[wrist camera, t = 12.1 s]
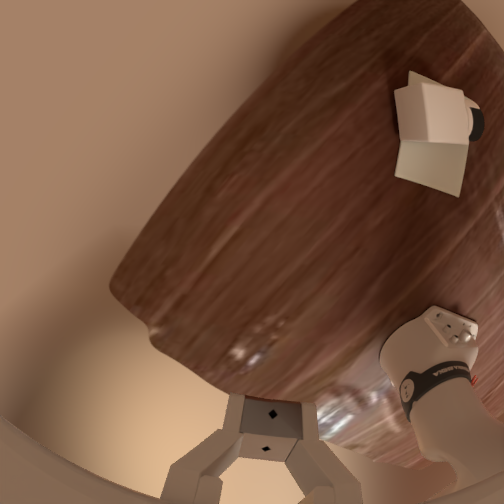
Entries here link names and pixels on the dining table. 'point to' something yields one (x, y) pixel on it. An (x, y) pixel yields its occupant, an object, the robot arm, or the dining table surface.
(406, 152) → the mat
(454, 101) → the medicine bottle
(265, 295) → the dining table surface
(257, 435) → the robot arm
